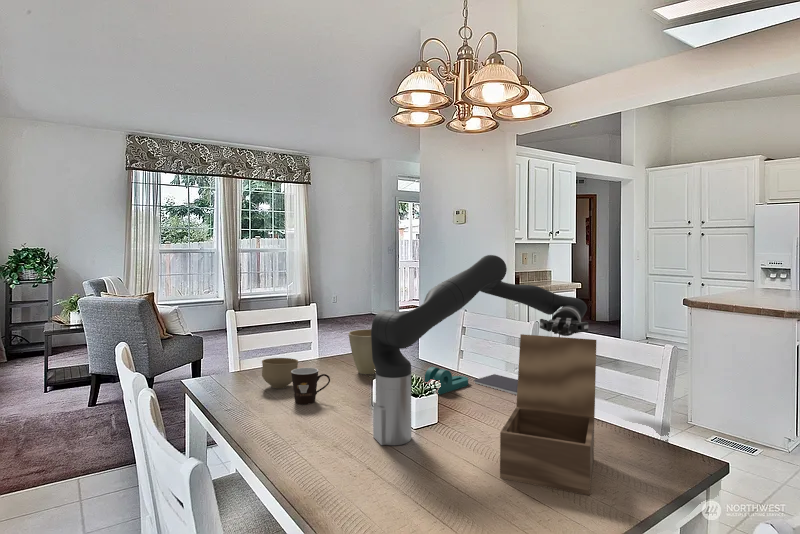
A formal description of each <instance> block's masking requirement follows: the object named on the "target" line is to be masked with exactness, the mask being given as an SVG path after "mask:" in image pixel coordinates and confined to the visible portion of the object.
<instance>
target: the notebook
mask: <svg viewBox="0 0 800 534" xmlns="http://www.w3.org/2000/svg"><path fill="white" fill-rule="evenodd" d="M473 382H474V384H475V383H476V384H475V385H478V384H480V385H479V386H482V385H483V387H486V386H487V388H489V387H491V388H490V389H493V388H494V390H497V389H498V390H497V391H500V390H501V391H502V392H504V391H505V393H509V394H512V395H516V396H517V388H518V378H517V379H516V378H513V377H508V376H504V375H499V374H496V373H494V374H491V375H487V376H483V377H480V378H476V379H474V380H473Z"/></svg>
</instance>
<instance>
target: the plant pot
mask: <svg viewBox="0 0 800 534" xmlns="http://www.w3.org/2000/svg"><path fill="white" fill-rule="evenodd" d="M348 340H349V346H350V351H351V355H352V358H353V361H354V364H355V367H356V370H357V371H358V372H359V373H358V374H360V375H364V374H370V375H374V374H373V373H375V370H374V369H375V365H374V363H373V359H372V343H371V328H369V329H367V328H365V329H355V330H351V331H348ZM375 374H376V373H375Z"/></svg>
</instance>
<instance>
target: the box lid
mask: <svg viewBox="0 0 800 534" xmlns="http://www.w3.org/2000/svg"><path fill="white" fill-rule="evenodd" d="M518 355H519V356H518V357H519V358H518V369H517V370H518V372H517V374H518V375H517V380H518V388H517V395H516V407H522V408H529V409H537V410H544V411H552V412H559V413H567V414H574V415H582V416H589V417H594V418H595V415H596V414H595V413H596V412H595V411H596V407H595V406H596V376H597V375H596V373H597V372H596V370H597V339H591V338H577V337H575V338H574V337H566V336H560V337H559V336H552V335H551V336H549V335H534V334H524V333H522V334H520V338H519V354H518ZM516 407H515V408H516Z"/></svg>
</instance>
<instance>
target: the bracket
mask: <svg viewBox="0 0 800 534" xmlns="http://www.w3.org/2000/svg"><path fill="white" fill-rule="evenodd" d="M430 379H434V380H440V383H441V387H440V388H439V390H438V393H439V395H438V396H440V395H443V394H446V393H449V392H452V391H455V390H456V391H457V390H458V389H462V388H464V387H468V386H469V377H467V376H463V375H452V373H451V371H450V370H447V369H444V368H439V367H436V366H430V367H428V368H427V369H426V372H425V373H424V383H425V382H428V381H429V380H430ZM467 385H468V386H467Z"/></svg>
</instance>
